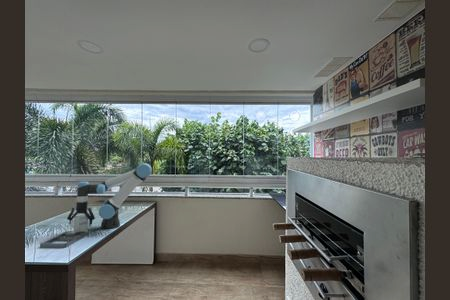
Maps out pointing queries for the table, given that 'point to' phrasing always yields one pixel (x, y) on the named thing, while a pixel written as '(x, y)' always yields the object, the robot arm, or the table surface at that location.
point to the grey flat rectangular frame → (61, 238)
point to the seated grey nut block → (71, 234)
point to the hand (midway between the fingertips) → (80, 228)
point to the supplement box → (80, 223)
